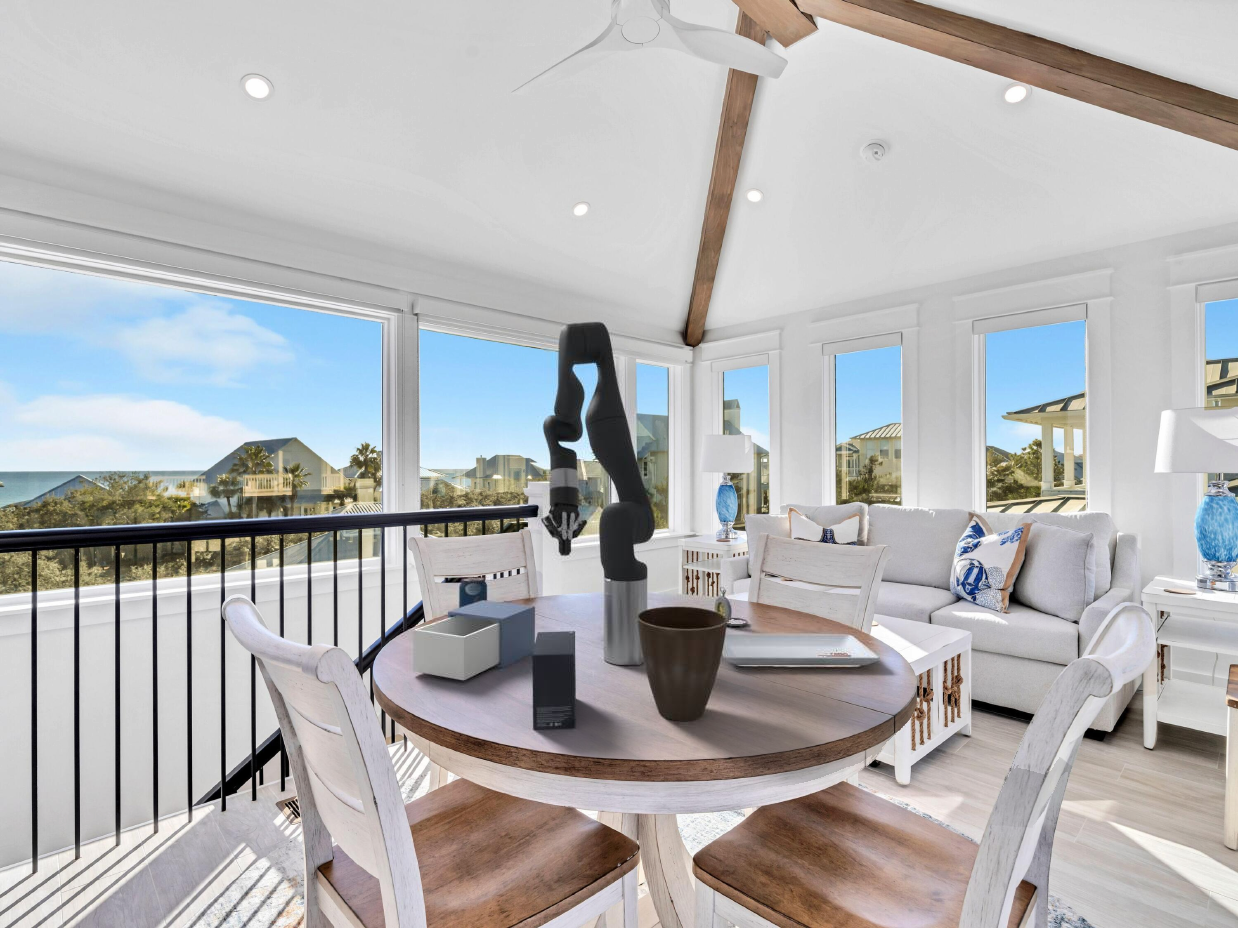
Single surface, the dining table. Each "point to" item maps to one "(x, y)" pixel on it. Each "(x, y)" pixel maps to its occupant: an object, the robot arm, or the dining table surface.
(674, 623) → the plant pot
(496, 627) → the tray
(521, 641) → the mailer sleeve
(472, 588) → the soda can
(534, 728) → the small box
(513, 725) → the dining table surface
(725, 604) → the pocket watch
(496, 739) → the dining table surface
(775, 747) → the dining table surface
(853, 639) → the tray
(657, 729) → the dining table surface
